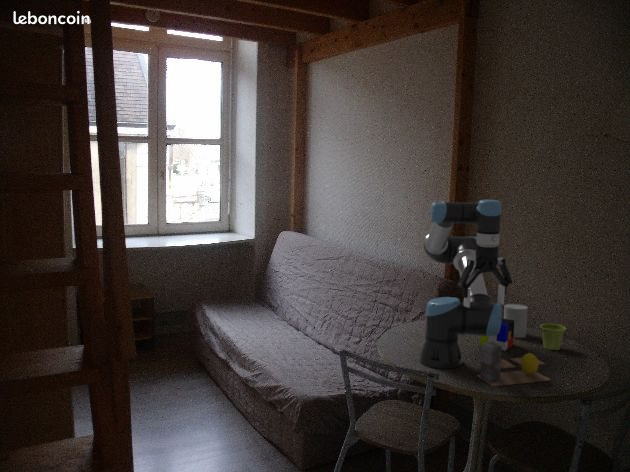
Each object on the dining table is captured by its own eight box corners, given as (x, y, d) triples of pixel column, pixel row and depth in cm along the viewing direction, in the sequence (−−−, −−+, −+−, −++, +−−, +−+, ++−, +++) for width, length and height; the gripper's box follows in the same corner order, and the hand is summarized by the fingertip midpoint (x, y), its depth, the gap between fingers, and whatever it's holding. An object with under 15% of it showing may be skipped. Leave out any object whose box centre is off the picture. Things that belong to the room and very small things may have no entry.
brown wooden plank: (492, 369, 204) (492, 368, 204) (480, 362, 212) (480, 361, 212) (546, 364, 210) (546, 363, 210) (532, 357, 218) (532, 356, 218)
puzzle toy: (504, 350, 226) (505, 325, 225) (479, 345, 232) (480, 321, 231) (513, 344, 234) (514, 320, 233) (488, 340, 240) (490, 316, 239)
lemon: (534, 372, 200) (535, 350, 199) (539, 378, 195) (541, 355, 194) (517, 372, 200) (519, 350, 200) (523, 378, 195) (524, 355, 194)
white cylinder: (504, 330, 254) (505, 302, 253) (527, 333, 250) (529, 305, 249) (501, 335, 246) (502, 307, 244) (524, 339, 242) (526, 310, 240)
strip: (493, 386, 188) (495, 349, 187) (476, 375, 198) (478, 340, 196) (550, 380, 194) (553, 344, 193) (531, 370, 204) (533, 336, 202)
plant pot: (556, 353, 223) (558, 331, 222) (534, 347, 230) (535, 326, 229) (569, 349, 229) (570, 327, 228) (546, 343, 236) (547, 322, 235)
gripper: (461, 248, 192) (457, 310, 195) (525, 245, 199) (521, 305, 203) (449, 244, 199) (446, 304, 202) (511, 241, 206) (507, 299, 210)
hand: (483, 305), depth 203 cm, fingers open, 13 cm apart
